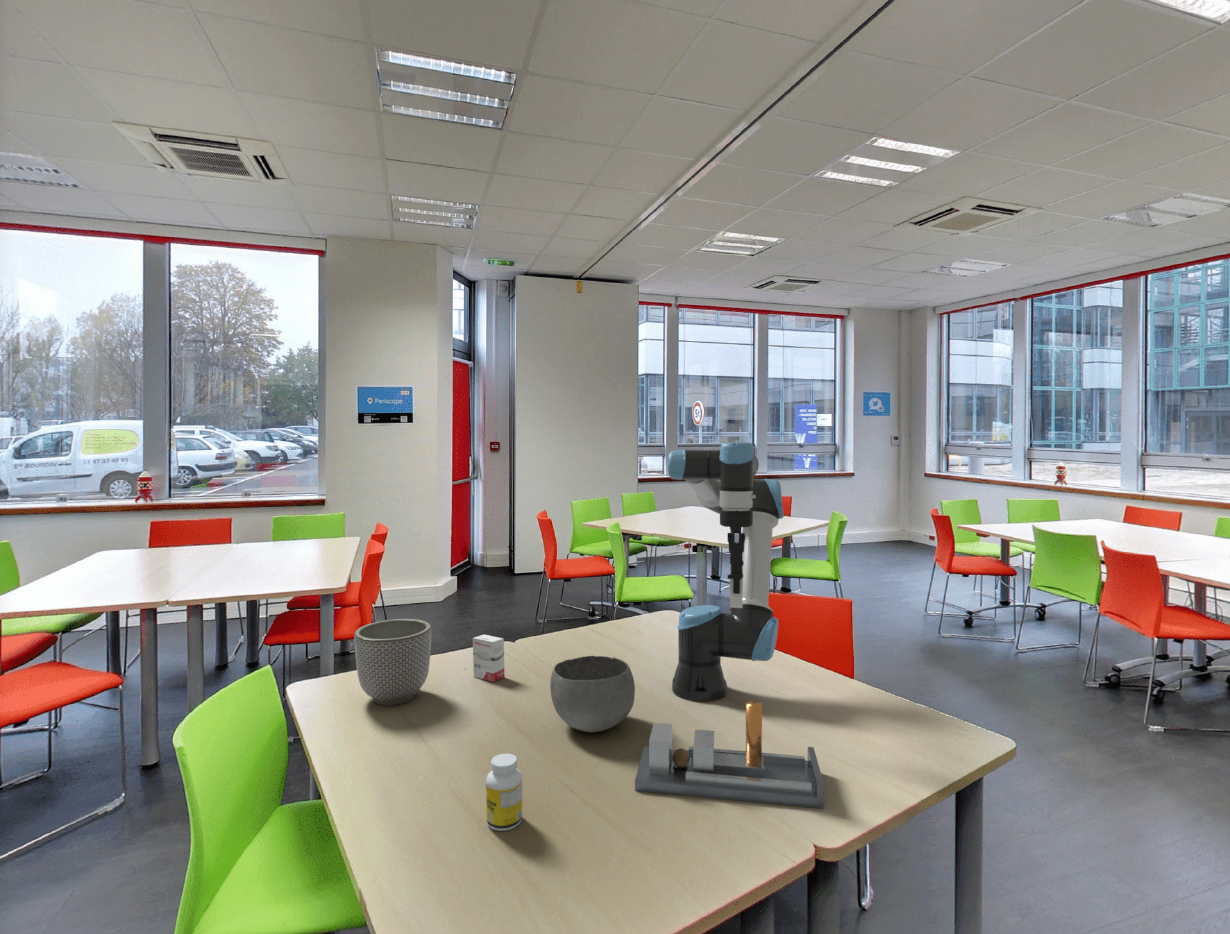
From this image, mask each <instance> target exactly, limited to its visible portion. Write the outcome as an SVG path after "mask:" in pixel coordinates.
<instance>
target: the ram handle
mask: <svg viewBox="0 0 1230 934" xmlns="http://www.w3.org/2000/svg"><path fill="white" fill-rule="evenodd" d="M692 747H693V772H697V773H708V774H719V775H730V776H741V777H752V778H763V779H764V761H763V757H762V753H763V703H762V702H760V701H757V700H748V701H746V702H745V751H746V755H737V754H726V753H714V749H715V730H709V729H708V730H707V729H695V730H694V736H693V746H692Z"/></svg>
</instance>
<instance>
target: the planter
mask: <svg viewBox="0 0 1230 934" xmlns="http://www.w3.org/2000/svg"><path fill="white" fill-rule="evenodd" d="M353 636H354V637H353V641H354V642H353V644H354V653H355V654H354V655H355V664H356V665H355V666H356V672H357V678H358V682H359V685H360V687H361V689H362V691H363V692H364V693H365V694H366V695H367V696H369V697H370V698H372V700H373V701H374V702H375V704H377V705H380V706H398V705H402V704H405V703H408V702H409V701H411V700H412V699H413V698H414V697H415V695H416V693H417V692H418V691H419V690H420V689H421V688H422V687H423V685H424V684H425V682H426V680H427V678H428V675H429V670H430V662H431V648H432V645H431V644H432V626H431V624H430V623H429V622H428V621H425V620H422V619H414V618H394V619H386V620H385V619H384V620H380V621H376V622H370V623H368V624H365V625H363V626H360V627H358V628H357V629H356V630H355V632H354V635H353Z"/></svg>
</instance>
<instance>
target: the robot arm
mask: <svg viewBox="0 0 1230 934" xmlns="http://www.w3.org/2000/svg"><path fill="white" fill-rule="evenodd" d="M759 467H760V464H759V459H758V457H757V456H756V454H755V453H754V446H753V443H751V442H748V441H747V442H745V441H744V442H738V441H736V442H735V441H734V442H733V441H732V442H722V443H721V444H720V448H719V449H684V448H683V449H674V450H672V451H670V452H669V454H668V457H667V474H668V476H669V478H670V479H672V480H679V481H682V480H683V481H684V480H685V482H686V483H688V485H689V486H690V487H691V489H693V490H694V492H695V493H696V497H697V500H698V501H699V503H700V504H701V505H702V506H703V507H704V508H706V509H708V510H710V511H712V512H714V513H716V514H719V525H721V526H722V527H725V528H729V531H730V532H727V542H728V552H729V553H730V555H729V564H730V565H729V574H727V579H728V580H729V608H730V609H729V610H730V612H729V613H723V612H722V610H721V607H720V606H719V605H713V604H702V605H695V606H689V607H687V608H684V609H682V611H681V612H680V613H679V616H678V625H677V629H678V630H677V631H678V632H677V633H678V637H677V638H678V663H677V666H676V669H675V672H674V676H673V679H672V682H671V683H672V684H671V690H672V692H673V694H674V695H676V696H677V697H679V698H681V699H685V700H689V701H693V702H710V701H716V700H720V699H722V698H724V697H726V695H727V693H728V690H727V689H728V684H727V681H726V679H725V675H724V672H723V669H722V665H721V664H722V663H721V660H722V659H721V658H728V659H729V658H732V659H739V660H749V661H752V662H757V661H758V662H760V661H761V662H768V661H770V660H771V659H772V658H773V657H774V653H775V649H776V645H777V641H778V640H777V639H778V630H779V619H778V617H775V616H774V611H773V609H772V608H771V607H770V606H769V595H770V594H769V593H770V581H771V580H770V578H771V560H772V546H773V545H772V543H773V529H774V528H775V527H777V526H778V524H779V520H781V519H783V518H784V516H785V515H784V507H783V506H784V505H783V495H782V487H781V483H780V482H779V480H776V479H767V478H764V479H761V478H760V479H759V478H754V477H755V476H756V475H757V473H758V471H759Z"/></svg>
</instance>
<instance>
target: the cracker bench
mask: <svg viewBox="0 0 1230 934" xmlns="http://www.w3.org/2000/svg"><path fill="white" fill-rule="evenodd" d="M648 743H649V744H648V746H643V749H642V753H641V757H640V760H639V764H638V768H637V772H636V775H635V779H634V791H637V792H649V793H659V794H667V795H679V796H689V797H699V798H707V799H709V798H710V799H719V800H720V799H721V800H729V801H738V802H739V801H740V802H750V803H761V804H769V805H779V806H780V805H781V806H790V807H791V806H792V807H793V806H794V807H802V808H812V809H821V810H823V809H824V797H825V796H824V790H825V786H824V785H825V783H824V780H823V777H822V776H823V775H822V773H821V772H822V771H821V769H820V766H819V762H818V758H817V754H816V751H815V747H813V746H807V757H805V756H804V755H795V754H794V755H793V754H783V753H782V754H781V753H772V752H762V757H763V761H764V779H763V778H752V777H741V776H730V775H719V774H708V773H697V772H693V746H689V747H688V750H687V749H685V750H686V751H687V752H688V753H689V755H690V762H689V764H688V765H687V766H686V767H684V768H680V767H677V766H676V765H675V764H674V762H673V754H674V752H675V751H676V750H677V749H676V748H675V749H674V748H673V724H672V723H665V722H663V723H662V722H661V723H660V722H653V724H652V729H651V732H650V735H649V740H648ZM714 753H726V754H737V755H746V750H745V751H744V750H736V749H735V750H734V749H722V748H714ZM806 759H807V760H806Z"/></svg>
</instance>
